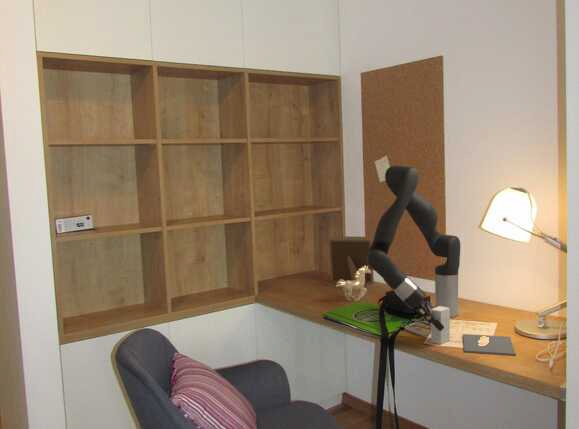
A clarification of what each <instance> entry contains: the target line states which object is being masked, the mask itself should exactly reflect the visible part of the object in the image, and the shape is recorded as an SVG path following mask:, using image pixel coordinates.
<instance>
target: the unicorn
mask: <svg viewBox="0 0 579 429" xmlns="http://www.w3.org/2000/svg"><path fill="white" fill-rule="evenodd" d="M365 273H369V274H370V273H371V270H369V269H368V266H365V265H364V267H361V268H360V269H358V271H357V272H356V274H355V275H356V276H354V277H356V278H355V279H356V280H355V281H350V280H347V281H345V280H343V279H341V280H339V281H338V282H337V283H336V285H335V288H342V289H343V292H344V297H345V298H346V299H347V300H348V302H352V300H351V299H354V300H355V302H358V301H360V300H361V298H363V297H364V296H365V295H366V293H367V291H368V289H367V288H366V287H365V285H366V284H365ZM358 290H359V291H360V292H359V295H358V297H357V298H356V297H355V296H354V295H352V294H353V291H358Z"/></svg>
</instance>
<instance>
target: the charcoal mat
mask: <svg viewBox="0 0 579 429" xmlns="http://www.w3.org/2000/svg"><path fill="white" fill-rule="evenodd" d="M462 336H463V338H462V340H463V339H464V340H463V352H464V353H469V354H470V353H472V354H487V355H501V356H502V355H503V356H516V350H515V349H514V345H513V342H512V339H511V336H505V335H503V336H502V335H490V334H489V335H487V334H486V335H483V334H471V333H469V334H468V333H462ZM482 336H486V337H489V343H488V344H487V345H485V346H479V345H478V344H479V343H478V340H480V337H482Z"/></svg>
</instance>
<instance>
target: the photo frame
mask: <svg viewBox="0 0 579 429" xmlns="http://www.w3.org/2000/svg"><path fill="white" fill-rule="evenodd" d="M372 242H373V236H349V235H347V236H345V235H344V236H340V235H339V236H334V235H333V236H332V235H331V236H329V238H328V246H329V248H328V249H329V262H330V264H329V265H330V279H331V283H334V284H338V283H337V282H338V281H339V280H341V279H343V280H345V281H347V280H350V281H355V280H356V279H355V278H356V277H354V276H356V275H355V274H356V272H357V271H358V269H360V268H361V267H364V265H365V266H368V265H367V262H366V258H367V255H368V252H369V250H370V247H371V245H372ZM368 269H369V270H371V273H370V274H369V273H365V284H364V285H366V284H367V285H373V283H374V281H375V280H374V269H371V268H370V267H369V266H368Z"/></svg>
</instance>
